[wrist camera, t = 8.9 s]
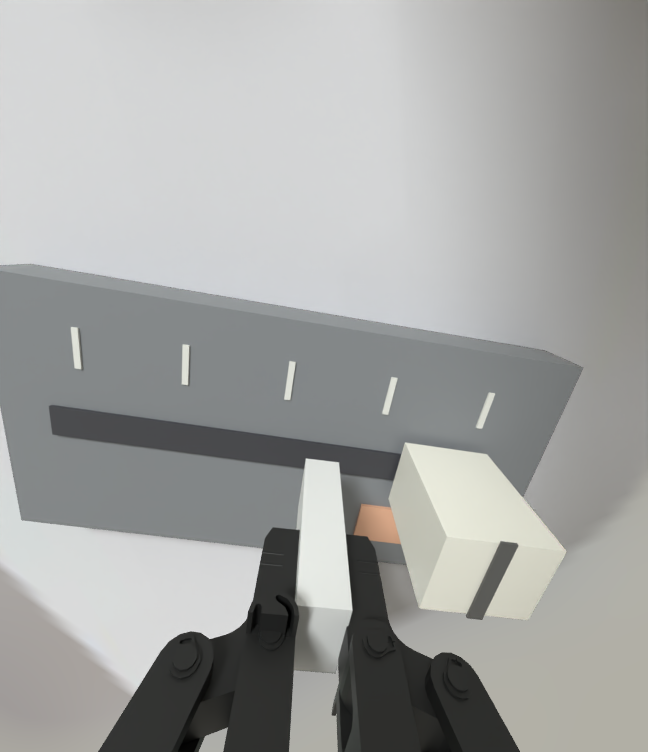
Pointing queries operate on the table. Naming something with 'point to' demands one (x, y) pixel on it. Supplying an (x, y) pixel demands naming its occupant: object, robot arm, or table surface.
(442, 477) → the fader knob
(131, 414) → the fader console
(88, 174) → the table surface
